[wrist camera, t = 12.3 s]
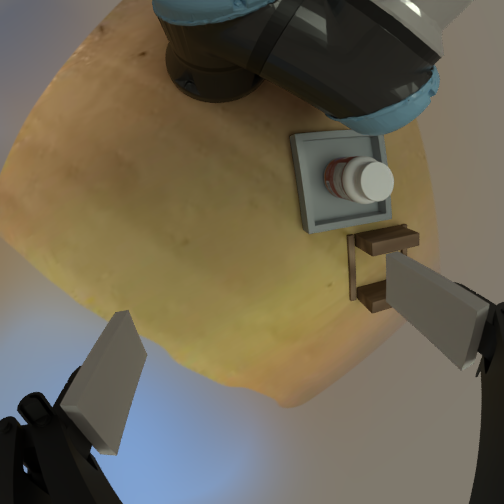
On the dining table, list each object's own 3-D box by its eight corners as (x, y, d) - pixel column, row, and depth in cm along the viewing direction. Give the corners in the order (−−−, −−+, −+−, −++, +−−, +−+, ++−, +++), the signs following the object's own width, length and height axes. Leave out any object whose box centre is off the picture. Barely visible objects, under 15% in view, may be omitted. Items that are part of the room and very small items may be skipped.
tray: (289, 136, 38) (294, 134, 35) (372, 130, 39) (382, 128, 36) (303, 229, 42) (309, 234, 39) (382, 215, 43) (391, 218, 40)
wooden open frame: (346, 235, 43) (363, 245, 37) (405, 223, 44) (425, 231, 38) (349, 299, 47) (364, 315, 41) (404, 284, 47) (422, 297, 41)
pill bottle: (363, 165, 40) (404, 166, 29) (352, 202, 41) (391, 214, 31) (328, 151, 39) (363, 147, 28) (317, 190, 40) (349, 198, 30)
